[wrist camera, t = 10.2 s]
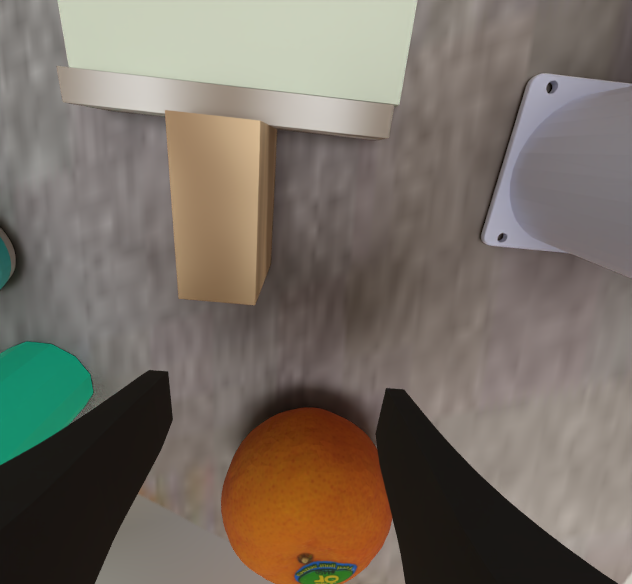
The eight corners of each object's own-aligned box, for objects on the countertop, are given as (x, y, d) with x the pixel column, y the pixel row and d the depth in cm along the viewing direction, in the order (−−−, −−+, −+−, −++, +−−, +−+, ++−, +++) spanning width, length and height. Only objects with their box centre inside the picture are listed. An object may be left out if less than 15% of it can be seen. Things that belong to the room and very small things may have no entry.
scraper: (379, 112, 16) (409, 96, 11) (354, 271, 19) (369, 315, 14) (105, 81, 15) (3, 49, 10) (127, 250, 19) (58, 288, 14)
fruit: (210, 416, 24) (163, 538, 16) (341, 361, 22) (355, 470, 14) (283, 503, 27) (272, 633, 20) (400, 462, 26) (435, 588, 18)
